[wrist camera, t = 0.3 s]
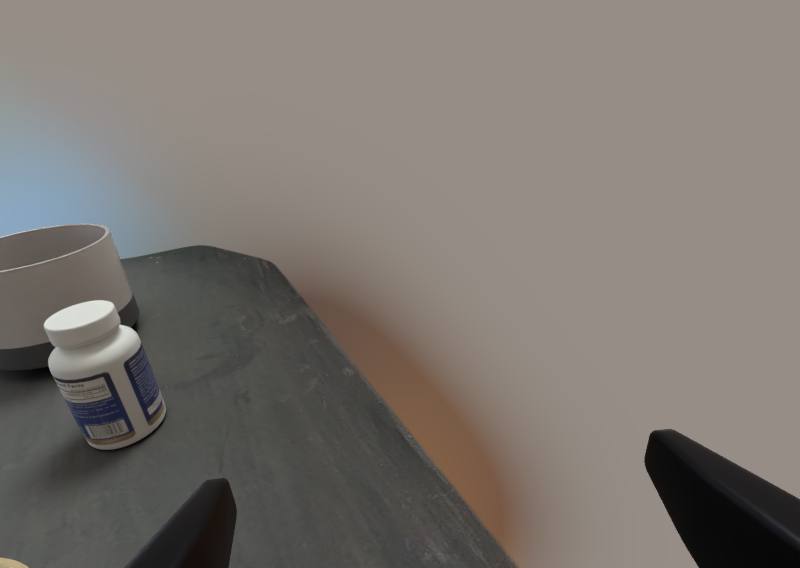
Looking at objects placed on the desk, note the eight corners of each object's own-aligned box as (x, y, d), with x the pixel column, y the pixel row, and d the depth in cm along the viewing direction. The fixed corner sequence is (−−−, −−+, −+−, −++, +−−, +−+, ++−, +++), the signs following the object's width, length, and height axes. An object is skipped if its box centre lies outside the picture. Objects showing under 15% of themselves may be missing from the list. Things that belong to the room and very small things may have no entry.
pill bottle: (144, 392, 36) (102, 288, 32) (181, 415, 34) (141, 304, 29) (73, 435, 32) (14, 323, 28) (109, 464, 30) (50, 345, 25)
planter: (-6, 403, 36) (-74, 291, 32) (-10, 344, 45) (-63, 249, 40) (158, 340, 44) (123, 242, 39) (127, 299, 52) (95, 215, 48)
